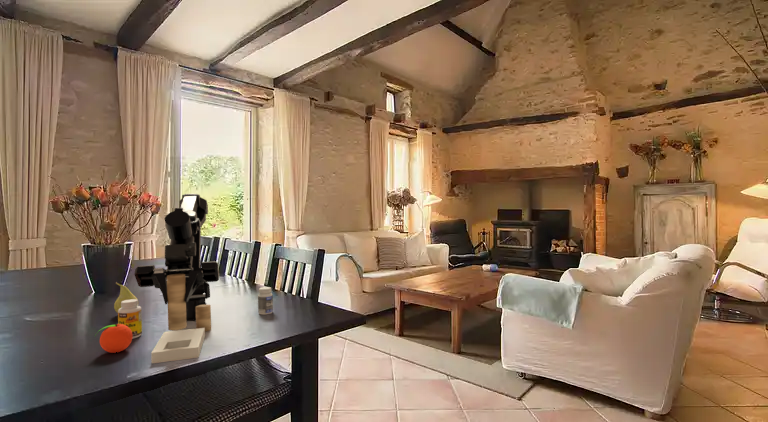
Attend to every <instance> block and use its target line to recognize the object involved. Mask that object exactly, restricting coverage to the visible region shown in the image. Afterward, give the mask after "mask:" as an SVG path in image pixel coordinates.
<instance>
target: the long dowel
mask: <svg viewBox="0 0 768 422" xmlns="http://www.w3.org/2000/svg"><path fill="white" fill-rule="evenodd" d="M185 293H186V286H185V274H172V275H168V276H167V300H168V302H167V318H168V319H167V326H168V327H167V328H168V329H167V330H168V331H178V330H185V329H186V328H187V327H188V325H187V321H188V320H186V303H185Z"/></svg>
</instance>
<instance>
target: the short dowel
mask: <svg viewBox="0 0 768 422" xmlns="http://www.w3.org/2000/svg"><path fill="white" fill-rule="evenodd" d="M211 308H212V307H211V304H206V305H199V306H196V320H195V329H196V328H205V333H206V332H209V331H211V330H212V312H211V311H212V309H211Z"/></svg>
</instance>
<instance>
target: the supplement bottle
mask: <svg viewBox="0 0 768 422" xmlns="http://www.w3.org/2000/svg"><path fill="white" fill-rule="evenodd" d="M137 299H138V298H137ZM137 299H130V300H124V301H122V302H121V308H120V309H119V310H118V313H117V322H118V323H117V324H123V325H126V326H127V327H129V328H130V329H131V331H132V335H133V336H132V340H133V339H134V340H135V339H137V338H139V337H141V336H142V334H143V320H142V319H143V318H142V317H143V316H142V315H143V314H142V306H140V305H139V304H138V302H139V299H138V300H137Z"/></svg>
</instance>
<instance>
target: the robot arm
mask: <svg viewBox="0 0 768 422" xmlns="http://www.w3.org/2000/svg"><path fill="white" fill-rule="evenodd" d="M178 202H179V204H178V205H179V207H175V208H174V210H173V211H170V212H169V213H167V214H166V215H165V217H164V225H165V229H166V232H167V236H168V238H169V240H170V244H167V245H165V246H164V259H165V261H164V266H165V267H166V269H165V268H164V267H158V268H156V267H155V266H156V265H155V264H152V265H151V264H150V265H149V264H148V265H138V266H137V267H136V268H134V270H135V271H134V274H133V275H134V277H135V281H136V282H137V286H138V287H140V288H146V287H147V288H148V287H149V288H150V287H154V288H155V289H159V290H160V292H161V293H162V297H163V301H164V305H168V300H167V276H168V275H172V274H185V286H186V293H185V303H186V321H196V306H199V305H207V302H206V300H208V299H209V298H211V288H210V283H215V282H218V281H220V270H219V269H220V268H219V262H217V261H215V260H213V261H201V242H202V241H201V238H202V236H201V235H202V227H203V225H204V223H206V221H207V215H208V214H209V204H208V201H207V199H204V198H203V197H201V195H200V194H198V193H184V194H182V196H181V199H179V201H178Z"/></svg>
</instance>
